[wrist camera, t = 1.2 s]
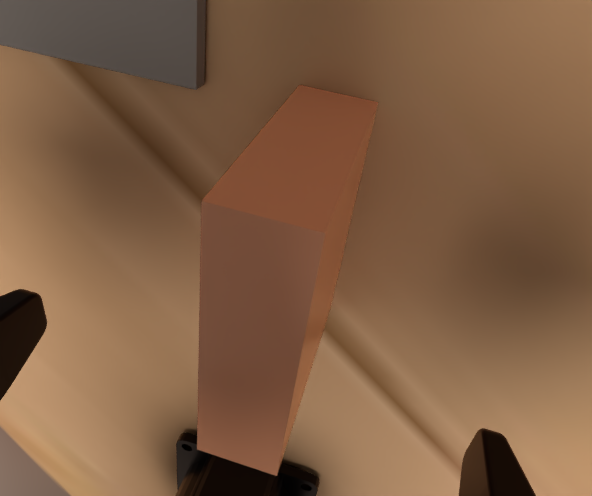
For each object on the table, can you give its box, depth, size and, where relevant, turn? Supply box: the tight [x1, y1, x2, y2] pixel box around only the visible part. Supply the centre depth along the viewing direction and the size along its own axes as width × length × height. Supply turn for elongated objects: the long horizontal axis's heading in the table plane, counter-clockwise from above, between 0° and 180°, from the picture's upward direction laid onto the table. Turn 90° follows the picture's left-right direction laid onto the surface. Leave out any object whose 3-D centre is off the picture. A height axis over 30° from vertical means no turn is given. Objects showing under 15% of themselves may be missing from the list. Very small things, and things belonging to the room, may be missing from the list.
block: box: [197, 85, 378, 476], centre depth 12 cm, size 7×2×6 cm, turn 173°
